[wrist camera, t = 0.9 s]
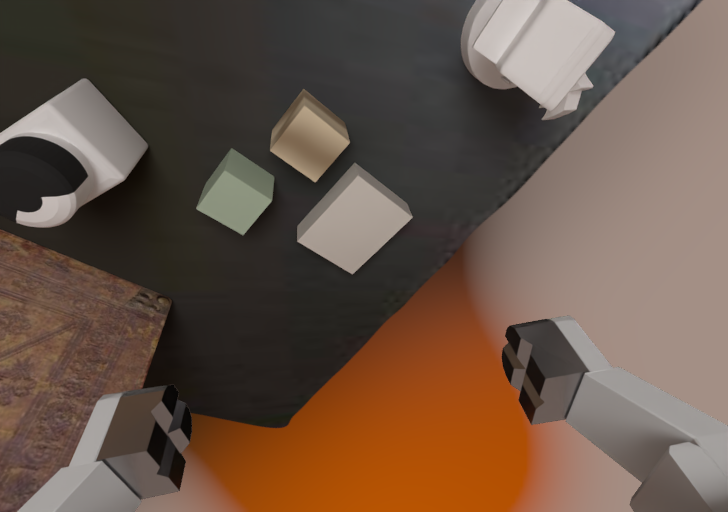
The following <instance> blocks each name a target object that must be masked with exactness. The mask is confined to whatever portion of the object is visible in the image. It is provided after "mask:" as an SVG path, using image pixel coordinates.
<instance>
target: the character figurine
mask: <svg viewBox="0 0 728 512" xmlns="http://www.w3.org/2000/svg"><path fill="white" fill-rule="evenodd" d="M614 35H615V31H614V30H612V29H611V28H610V27H609V26H607V25H606V24H605V23H604V22H602V21H601V20H599V19H597V18H596V17H594V16H593V15H591V14H589V13H588V12H586V11H584V10H583V9H581V8H579V7H578V6H576V5H574V4H573V3H571V2H569V1H568V0H476V2H475V3H474V4H473V6H472V8H471V9H470V11H469V13H468V15H467V17H466V20H465V23H464V26H463V30H462V36H461V52H462V58H463V61H464V63H465V66H466V67H467V69H468V70H469V72H470V73H471V74H472V75H473V76H474V77H475V78H477V79H478V80H479V81H480V82H482V83H483V84H485V85H487V86H489V87H492V88H496V89H509V88H514V87H517V86H518V87H519V88H520V89H522V90H523V91H524V92H525V93H527V94H528V95H529V96H531V97H532V98H533V99H534V100H536V101H537V102H538V103H539V104H540V106H539V108H546V109H547V111H546V113H545V115H544V117H543V118H542V120H549V119H555V118H558V117H561V116H563V115H566V114H569V113H571V112H572V111H574V110H576V109H577V106H578V102H579V99H580V95H581V92H582V90H587V89H591V88H593V87H594V86H593V84H592V83H591V82H590V80H589V79H588V77H587V76H586V74H585V72H586V71H587V70H588V68H589V67H590V66H591V65H592V63H593V62H594V61H595V60H596V59H597V57H598V56H599V55H600V54H601V52H602V51H603V50H604V49H605V48H606V46H607V45H608V44H609V43H610V41H611V40H612V38H613V37H614Z"/></svg>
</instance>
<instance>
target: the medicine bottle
mask: <svg viewBox="0 0 728 512" xmlns="http://www.w3.org/2000/svg"><path fill="white" fill-rule="evenodd" d="M147 148H148V144H147V143H146V142H145V141H144V140H143V138H142V137H141V136H140V135H139V134H138V133H137V132H136V131H135V130H134V129H133V128H132V126H131V125H130V124H129V123H128V122H127V121H126V120H125V119H124V118H123V117H122V116H121V114H120V113H119V112H118V111H117V110H116V109H115V108H114V107H113V106H112V105H111V104H110V103H109V101H108V100H107V99H106V98H105V97H104V96H103V95H102V94H101V93H100V92H99V91H98V89H97V88H96V87H95V86H94V85H93V84H92V83H91V82H90V81H89V80H88V79H81V80H80V81H78V82H77V83H75V84H74V85H72V86H71V87H69V88H68V89H66V90H65V91H63V92H61V93H60V94H58V95H57V96H55V97H54V98H52V99H51V100H49V101H48V102H46V103H44V104H43V105H41V106H40V107H38V108H37V109H36V110H34V111H33V112H31V113H30V114H28V115H27V116H25V117H24V118H22V119H21V120H19V121H18V122H16V123H15V124H13V125H12V126H10V127H9V128H7V129H6V130H4V131H3V132H1V133H0V215H2V216H3V217H5V218H7V219H9V220H11V221H14V222H16V223H19V224H22V225H27V226H32V227H54V226H58V225H61V224H63V223H65V222H66V221H68V220H69V219H70V218H71V217H72V216H73V215H74V213H75V212H76V211H77V210H78V208H79V207H81V206H82V205H84V204H86V203H87V202H89V201H91V200H92V199H94V198H96V197H97V196H99V195H101V194H102V193H104V192H106V191H108V190H109V189H111V188H113V187H114V186H116V185H118V184H119V183H121V182H123V181H124V180H125V179H126V178H127V176H128V175H129V174H130V172H131V171H132V169H133V168H134V167H135V165H136V164H137V162H138V161H139V160H140V158H141V157H142V155H143V154H144V153H145V151H146V150H147Z"/></svg>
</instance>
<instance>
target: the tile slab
mask: <svg viewBox="0 0 728 512" xmlns="http://www.w3.org/2000/svg"><path fill="white" fill-rule="evenodd" d="M412 218H413V217H412V214H411V212H410V210H409V207H408V205H407V203H406V202H405V201H403V200H402V199H401V198H399V197H398V196H397V195H396V194H394V193H393V192H392V191H390V190H389V189H388V188H387V187H385V186H384V185H383V184H382V183H380V182H379V181H378V180H376V179H375V178H374V177H373V176H371V175H370V174H369V173H367V172H366V171H365V170H364V169H362V168H361V167H360V166H359V165H357V164H356V163H354V164H353V165H352V166H351V167H350V168H349V169H348V171H347V172H346V173H345V174H344V175H343V176H342V177H341V178H340V179H339V180H338V182H337V183H336V184H335V185H334V186H333V187H332V188H331V189H330V190H329V192H328V193H327V194H326V195H325V196H324V197H323V198H322V199H321V200H320V202H319V203H318V204H317V205H316V206H315V207H314V208H313V209H312V210H311V211H310V213H309V214H308V215H307V216H306V217H305V218H304V219H303V220H302V221H301V223H300V224H299V225H298V226H297V242H299V243H301V244H302V245H304V246H306V247H307V248H309V249H311V250H312V251H314V252H316V253H317V254H319V255H321V256H322V257H324V258H326V259H327V260H329V261H331V262H332V263H334V264H336V265H337V266H339V267H341V268H342V269H344V270H346V271H348V272H349V273H351V274H353V273H355V272H356V271H357V270H358V269H359V268H360V267H361V266H362V265H363V264H364V263H365V262H366V261H367V260H368V259H369V258H370V257H371V256H372V255H374V254H375V253H376V252H377V251H378V250H379V249H380V248H381V247H382V246H383V245H384V244H385V243H386V242H387V241H388V240H389V239H390V238H391V237H393V236H394V235H395V234H396V233H397V232H398V231H399V230H400V229H401V228H402V227H403V226H404V225H405V224H406V223H407V222H408V221H409V220H410V219H412Z"/></svg>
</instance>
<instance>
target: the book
mask: <svg viewBox="0 0 728 512" xmlns="http://www.w3.org/2000/svg"><path fill="white" fill-rule="evenodd" d="M171 303H172V300H171V299H170V298H169V297H166V296H164V295H161V294H159V293H156V292H154V291H152V290H149V289H147V288H144V287H142V286H139V285H137V284H134V283H132V282H129V281H127V280H124V279H122V278H119V277H117V276H114V275H112V274H109V273H107V272H105V271H102V270H100V269H97V268H95V267H92V266H90V265H87V264H85V263H82V262H80V261H77V260H75V259H72V258H70V257H67V256H65V255H62V254H60V253H58V252H55V251H53V250H50V249H48V248H45V247H43V246H40V245H38V244H35V243H33V242H30V241H28V240H25V239H23V238H20V237H18V236H15V235H13V234H11V233H8V232H6V231H3V230H1V229H0V512H17V511H18V510H19V509H20V508H21V507H22V506H23V505H24V504H25V503H26V502H27V501H28V500H29V499H30V498H31V497H32V496H33V495H34V494H35V493H37V492H38V491H39V490H40V489H41V488H42V487H43V486H44V485H45V484H46V483H47V482H48V481H49V480H50V479H51V478H52V477H53V476H54V475H55V474H56V473H57V472H58V471H59V470H60V469H61V468H64V467H69V464H70V462H71V460H72V458H73V455H74V453H75V451H76V448H77V446H78V444H79V442H80V439H81V437H82V435H83V433H84V430H85V428H86V426H87V423H88V421H89V419H90V417H91V414H92V412H93V410H94V407H95V405H96V403H97V401H98V400H99V399H100V398H101V397H102V396H103V395H106V394H112V393H118V392H124V391H131V390H138V389H142V387H143V384H144V381H145V378H146V376H147V373H148V370H149V367H150V364H151V361H152V358H153V355H154V352H155V349H156V347H157V344H158V341H159V338H160V335H161V332H162V329H163V326H164V323H165V320H166V318H167V315H168V312H169V309H170V306H171Z"/></svg>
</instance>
